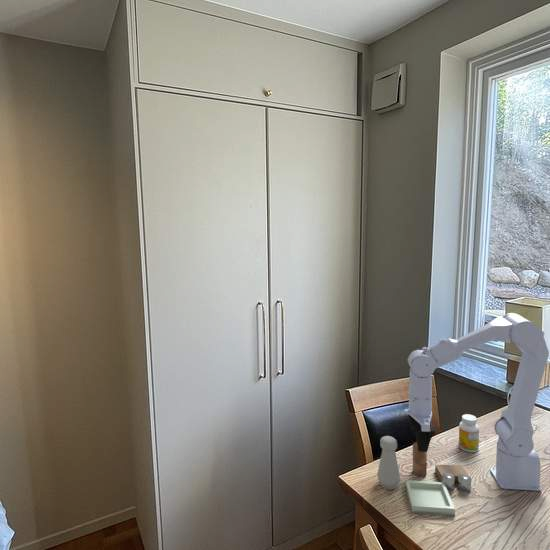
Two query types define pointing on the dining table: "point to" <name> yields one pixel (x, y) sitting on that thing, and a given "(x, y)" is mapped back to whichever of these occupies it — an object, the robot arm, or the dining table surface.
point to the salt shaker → (388, 464)
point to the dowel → (419, 462)
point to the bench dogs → (463, 482)
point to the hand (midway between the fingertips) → (419, 443)
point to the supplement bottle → (469, 433)
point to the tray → (429, 498)
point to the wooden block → (450, 471)
